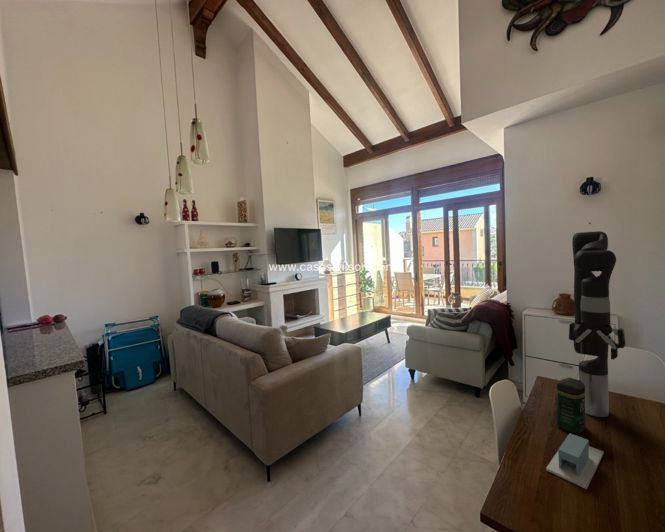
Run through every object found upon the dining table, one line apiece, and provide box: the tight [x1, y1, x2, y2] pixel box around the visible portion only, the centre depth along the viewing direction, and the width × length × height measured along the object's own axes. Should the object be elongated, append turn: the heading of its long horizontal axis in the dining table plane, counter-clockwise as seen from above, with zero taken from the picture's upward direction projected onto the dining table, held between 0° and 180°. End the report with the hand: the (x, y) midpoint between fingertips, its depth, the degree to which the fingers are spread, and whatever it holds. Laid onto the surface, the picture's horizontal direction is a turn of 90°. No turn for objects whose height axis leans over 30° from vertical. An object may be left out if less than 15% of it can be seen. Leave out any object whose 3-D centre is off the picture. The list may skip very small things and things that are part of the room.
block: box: [557, 432, 590, 476], centre depth 95 cm, size 12×5×6 cm, turn 128°
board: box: [545, 445, 605, 490], centre depth 97 cm, size 22×10×3 cm, turn 128°
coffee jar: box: [556, 377, 587, 434], centre depth 114 cm, size 10×8×19 cm
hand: (596, 355), depth 101 cm, fingers open, 8 cm apart
